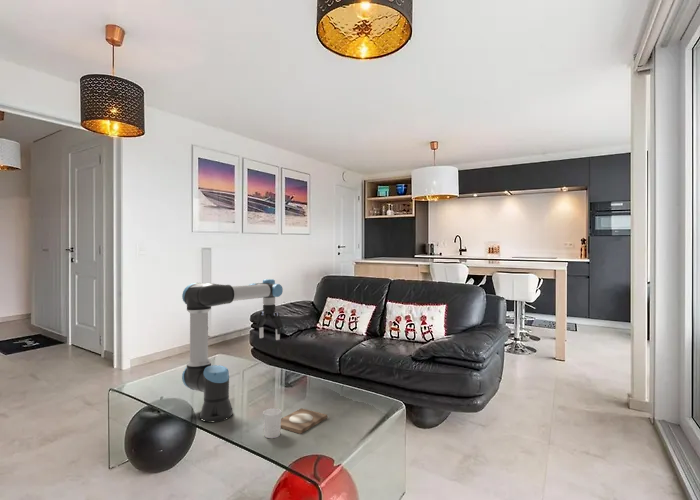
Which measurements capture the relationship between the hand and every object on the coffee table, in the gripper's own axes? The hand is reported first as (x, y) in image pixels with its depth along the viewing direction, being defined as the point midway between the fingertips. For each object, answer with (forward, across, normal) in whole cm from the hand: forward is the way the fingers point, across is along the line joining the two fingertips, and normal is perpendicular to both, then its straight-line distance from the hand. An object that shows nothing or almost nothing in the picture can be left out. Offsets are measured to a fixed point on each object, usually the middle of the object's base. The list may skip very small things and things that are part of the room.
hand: (269, 338), depth 235 cm
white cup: (+29, -50, +50) cm, 76 cm away
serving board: (+29, -52, +33) cm, 68 cm away
